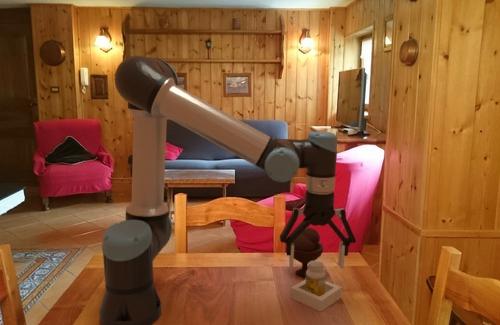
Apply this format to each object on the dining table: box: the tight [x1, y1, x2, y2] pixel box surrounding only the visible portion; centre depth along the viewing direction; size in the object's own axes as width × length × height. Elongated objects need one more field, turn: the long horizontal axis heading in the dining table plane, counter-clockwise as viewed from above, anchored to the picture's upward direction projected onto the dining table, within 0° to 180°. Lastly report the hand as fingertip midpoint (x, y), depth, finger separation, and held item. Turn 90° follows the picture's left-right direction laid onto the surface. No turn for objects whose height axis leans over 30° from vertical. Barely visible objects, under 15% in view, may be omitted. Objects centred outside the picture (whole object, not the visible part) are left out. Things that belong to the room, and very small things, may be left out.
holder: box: [290, 278, 343, 312], centre depth 115 cm, size 10×10×3 cm
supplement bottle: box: [305, 260, 327, 296], centre depth 114 cm, size 5×5×10 cm
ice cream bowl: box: [293, 227, 324, 279], centre depth 128 cm, size 11×11×15 cm
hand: (316, 266), depth 113 cm, fingers open, 13 cm apart
